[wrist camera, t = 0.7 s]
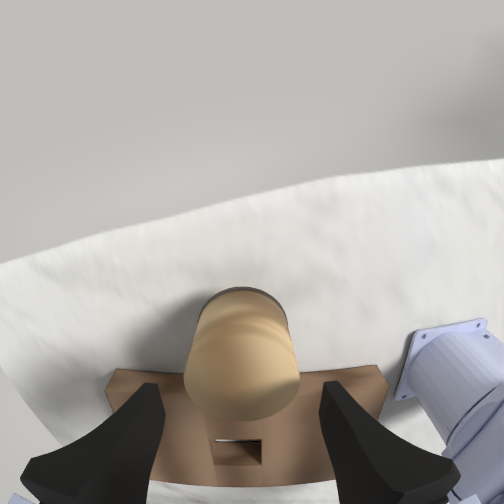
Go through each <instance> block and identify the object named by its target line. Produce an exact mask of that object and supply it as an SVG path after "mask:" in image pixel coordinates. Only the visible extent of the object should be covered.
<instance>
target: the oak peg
mask: <svg viewBox="0 0 504 504" xmlns="http://www.w3.org/2000/svg"><path fill="white" fill-rule="evenodd" d="M299 384H300V375H299V370H298V366H297V362H296V358H295V353H294V349H293V345H292V341H291V337H290V333H289V329H288V322H287V317H286V314H285V311H284V310H283V308H282V306H281V305H280V303H279V302H278V301H277V300H276V299H275V298H274V297H272V296H271V295H270V294H268V293H266V292H264V291H262V290H259V289H256V288H251V287H233V288H229V289H226V290H223V291H221V292H219V293H217V294H215V295H214V296H213V297H211V298H210V299H209V300H208V301H207V302H206V304H205V305H204V307H203V308H202V310H201V312H200V316H199V319H198V325H197V329H196V332H195V335H194V339H193V342H192V346H191V349H190V353H189V356H188V360H187V363H186V367H185V371H184V385H185V389H186V391H187V393H188V395H189V396H190V398H191V399H192V401H193V402H194V403H195V404H196V405H197V406H198V407H200V408H201V409H202V410H204V411H205V412H207V413H209V414H211V415H213V416H216V417H218V418H221V419H225V420H230V421H241V422H245V421H255V420H260V419H264V418H267V417H270V416H272V415H274V414H276V413H278V412H280V411H281V410H283V409H284V408H285V407H286V406H287V405H289V404H290V403H291V401H292V400H293V399H294V397H295V395H296V394H297V391H298V389H299Z"/></svg>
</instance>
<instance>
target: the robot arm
mask: <svg viewBox="0 0 504 504" xmlns="http://www.w3.org/2000/svg"><path fill="white" fill-rule="evenodd" d="M487 322H488V321H487V319H486V318H481V319H477V320H472V321H467V322H462V323H457V324H452V325H447V326H442V327H436V328H430V329H424V330H418V331H416V332H415V333H414V335H413V337H412V341H411V345H410V349H409V352H408V356H407V359H406V362H405V366H404V369H403V372H402V375H401V379H400V382H399V385H398V388H397V390H396V393H395V396H394V398H395V400H396V401H401V400H406V399H410V398H414V397H416V398H417V399H418V401H419V402H420V404H421V405H422V407H423V409H424V410H425V412H426V413H427V415H428V417H429V418H430V420H431V421H432V423H433V425H434V426H435V428H436V430H437V431H438V433H439V434H440V436H441V438H442V439H443V441H444V443H445V444H446V446H447V447H446V448H445V450H444V451H443V452H442V453H441V454H442V456H443V457H442V456H439V455H436V454H433V453H430V452H428V451H426V450H423V449H421V448H419V447H417V446H414V445H413V444H411V443H409V442H407V441H405V440H403V439H402V438H400V437H398V436H397V435H395V434H394V433H392V432H391V431H389V430H388V429H387V428H385V427H384V426H383V425H381V424H380V423H379V422H378V421H377V420H375V419H374V418H373V417H372V416H371V415H370V414H369V413H368V412H367V411H366V410H365V409H364V408H363V407H362V406H360V405H359V404H358V402H357V401H356V400H355V399H354V398H353V397H352V396H351V395H350V394H349V393H348V392H347V391H346V389H345V388H344V387H343V386H342V385H341V384H340V383H339V382H338V381H327V382H324V384H323V390H322V396H321V401H320V407H319V412H318V414H319V420H320V426H321V431H322V435H323V438H324V441H325V444H326V448H327V451H328V454H329V457H330V460H331V463H332V467H333V470H334V474H335V478H336V483H337V489H338V495H339V502H340V504H446V503H448V502H449V503H450V504H504V344H503V343H502V342H501V341H500V340H499V339H498V338H496V337H495V336H494V335H493V334H492V333H490V332H489V331H488V330H487V329H486V326H487ZM423 334H424V335H423ZM422 335H423V336H422ZM165 417H166V413H165V409H164V406H163V402H162V399H161V395H160V391H159V388H158V384H157V383H146V382H145V383H143V384H142V385H141V386H140V387H139V388H138V390H137V391H136V392H135V393H134V394H133V395H132V396H131V397H130V398H129V399H128V400H127V401H126V402H125V403H124V404H123V405H122V406H121V407H120V408H119V409H118V410H117V411H116V412H115V413H114V414H112V415H111V416H110V417H109V418H108V419H107V420H105V421H104V422H103V423H102V424H101V425H99V426H98V427H97V428H95V429H94V430H93V431H91V432H90V433H88V434H87V435H85V436H83V437H82V438H80V439H78V440H76V441H75V442H73V443H71V444H69V445H67V446H65V447H63V448H60V449H58V450H56V451H53V452H50V453H48V454H44V455H41V456H38V457H34V458H31V459H30V461H29V463H28V464H27V466H26V468H25V470H24V471H23V473H22V475H21V477H20V480H21V482H22V484H23V485H24V486H25V487H26V488H27V489H28V490H29V491H30V492H31V493H32V494H33V495H34V496H35V497H36V498H37V499H38V500H39V501H40V503H39V504H146V499H147V491H148V485H149V479H150V474H151V470H152V467H153V464H154V460H155V457H156V454H157V451H158V448H159V444H160V441H161V438H162V434H163V430H164V424H165ZM8 504H34V503H33V502H31V501H29V500H27V499H25V498H23V497H22V496H20V495H18V494H16V493H13V495H12V497H11V499H10V501H9V503H8Z"/></svg>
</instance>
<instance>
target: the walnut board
mask: <svg viewBox="0 0 504 504" xmlns="http://www.w3.org/2000/svg"><path fill="white" fill-rule="evenodd" d="M299 375H300V384H299V389H298V391H297V394H296V395H295V397H294V399H293V400H292V401H291V403H290V404H289V405H287V406H286V407H285V408H284V409H283V410H281V411H280V412H278V413H276V414H274V415H272V416H270V417H267V418H264V419H260V420H255V421H245V422H241V421H230V420H225V419H221V418H218V417H216V416H213V415H211V414H209V413H207V412H205V411H204V410H202V409H201V408H200V407H198V406H197V405H196V404H195V403H194V402H193V401H192V399H191V398H190V396H189V395H188V393H187V391H186V389H185V385H184V374H169V373H155V372H143V371H132V370H123V369H116V371H115V372H114V374H113V376H112V378H111V379H110V381H109V383H108V385H107V387H106V388H105V390H104V391H105V394H106V396H107V399H108V401H109V404H110V406H111V408H112V411H113V413H115V412H116V411H117V410H118V409H119V408H120V407H121V406H122V405H123V404H124V403H125V402H126V401H127V400H128V399H129V398H130V397H131V396H132V395H133V394H134V393H135V392H136V391H137V390H138V388H139V387H140V386H141V385H142V384H143V383H145V382H146V383H157V384H158V388H159V391H160V395H161V399H162V402H163V406H164V409H165V413H166V417H165V424H164V430H163V434H162V438H161V441H160V444H159V448H158V451H157V454H156V457H155V460H154V464H153V467H152V470H151V474H150V479H149V480H155V481H161V482H169V483H177V484H186V485H197V486H213V487H271V486H286V485H298V484H307V483H315V482H322V481H329V480H335V479H336V478H335V474H334V470H333V467H332V463H331V460H330V457H329V454H328V451H327V448H326V444H325V441H324V438H323V435H322V431H321V426H320V420H319V414H318V412H319V407H320V401H321V396H322V390H323V384H324V382H327V381H338V382H339V383H340V384H341V385H342V386H343V387H344V388H345V389H346V391H347V392H348V393H349V394H350V395H351V396H352V397H353V398H354V399H355V400H356V401H357V402H358V404H359V405H360V406H362V407H363V408H364V409H365V410H366V411H367V412H368V413H369V414H370V415H371V416H372V417H373V418H374V419H375V420H378V418H379V415H380V412H381V409H382V406H383V404H384V401H385V398H386V395H387V392H388V389H389V385H388V383H387V382H386V380H385V378H384V376H383V375H382V373H381V371H380V370H379V368H378V366H377V365H371V366H363V367H356V368H348V369H339V370H330V371H319V372H307V373H299ZM215 439H227V440H249V439H261V442H243V443H234V442H216V441H215Z"/></svg>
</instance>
